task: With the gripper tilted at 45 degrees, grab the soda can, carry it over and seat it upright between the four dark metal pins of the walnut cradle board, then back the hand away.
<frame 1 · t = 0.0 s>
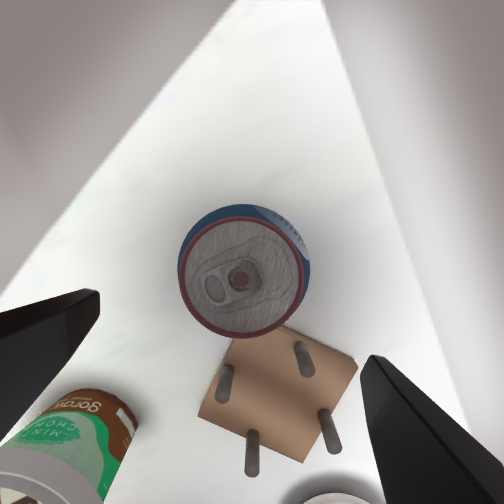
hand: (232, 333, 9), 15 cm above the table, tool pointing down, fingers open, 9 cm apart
soda can: (250, 247, 24), on the table
walnut cradle: (275, 382, 25), on the table
food container: (87, 404, 27), on the table
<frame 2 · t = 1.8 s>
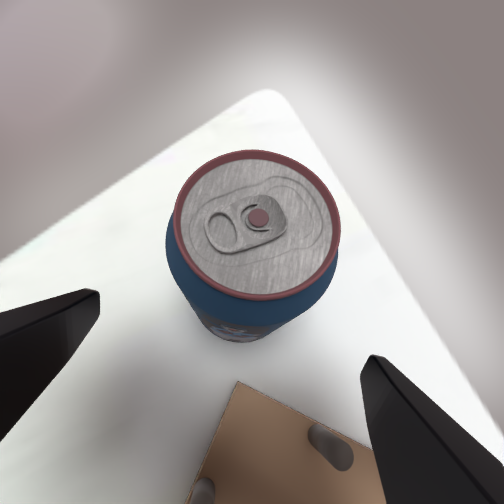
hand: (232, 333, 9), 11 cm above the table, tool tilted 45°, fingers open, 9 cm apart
soda can: (240, 295, 20), on the table
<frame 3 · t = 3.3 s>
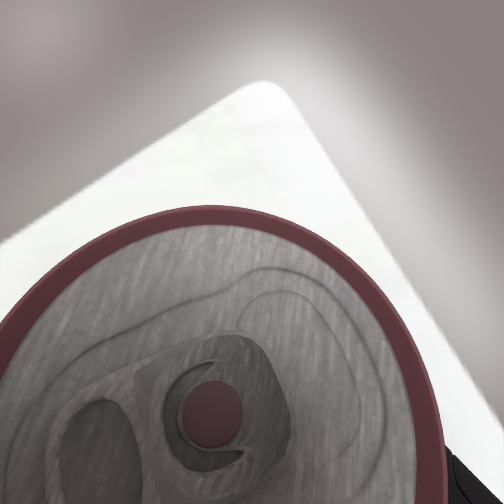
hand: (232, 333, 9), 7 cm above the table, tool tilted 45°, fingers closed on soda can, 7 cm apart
soda can: (223, 369, 14), on the table, touching gripper
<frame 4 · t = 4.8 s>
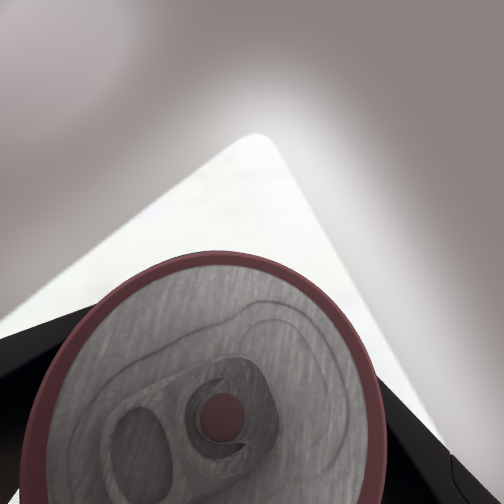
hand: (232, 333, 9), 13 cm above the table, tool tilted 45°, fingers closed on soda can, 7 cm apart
soda can: (213, 362, 16), point 5 cm above the table, touching gripper
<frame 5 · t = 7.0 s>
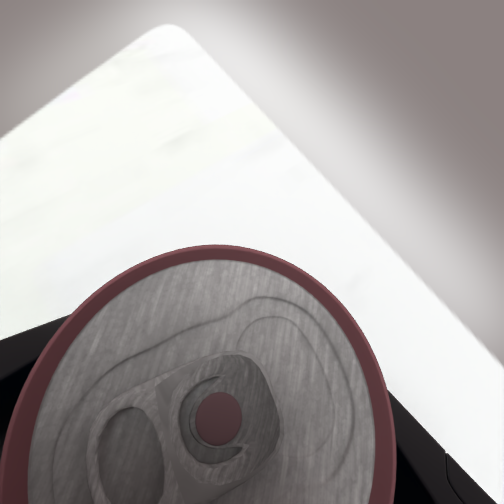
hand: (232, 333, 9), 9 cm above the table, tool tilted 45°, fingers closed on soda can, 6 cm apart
soda can: (212, 372, 15), point 1 cm above the table, touching gripper, walnut cradle
when the fingers open (9 cm above the table, at t = 7.4 s): soda can stays where it is, resting on walnut cradle.
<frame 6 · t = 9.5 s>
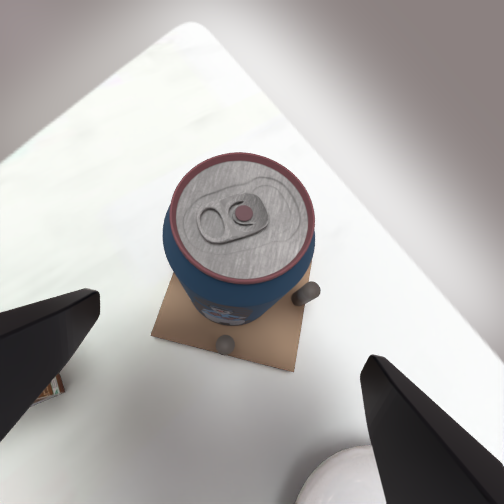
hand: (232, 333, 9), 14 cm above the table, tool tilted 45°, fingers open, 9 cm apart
soda can: (232, 283, 22), point 1 cm above the table, touching walnut cradle
walnut cradle: (239, 287, 23), on the table
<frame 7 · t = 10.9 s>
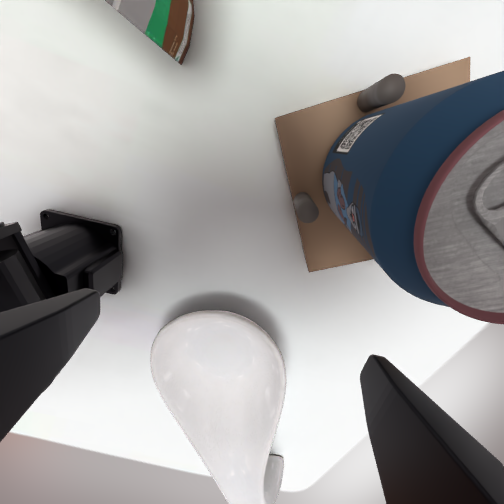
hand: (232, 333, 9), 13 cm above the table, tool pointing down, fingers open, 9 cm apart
soda can: (372, 172, 17), point 1 cm above the table, touching walnut cradle
walnut cradle: (368, 179, 19), on the table
spoon rest: (241, 385, 28), on the table
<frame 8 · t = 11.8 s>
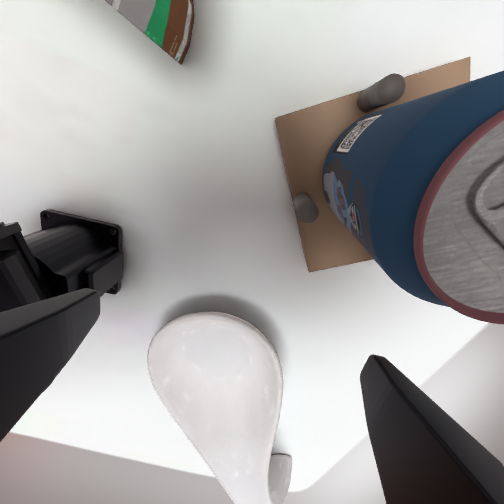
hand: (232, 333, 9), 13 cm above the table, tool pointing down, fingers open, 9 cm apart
soda can: (372, 172, 17), point 1 cm above the table, touching walnut cradle
walnut cradle: (368, 179, 19), on the table
spoon rest: (242, 386, 28), on the table
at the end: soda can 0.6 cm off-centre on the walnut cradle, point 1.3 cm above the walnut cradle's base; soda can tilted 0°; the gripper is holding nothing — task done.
